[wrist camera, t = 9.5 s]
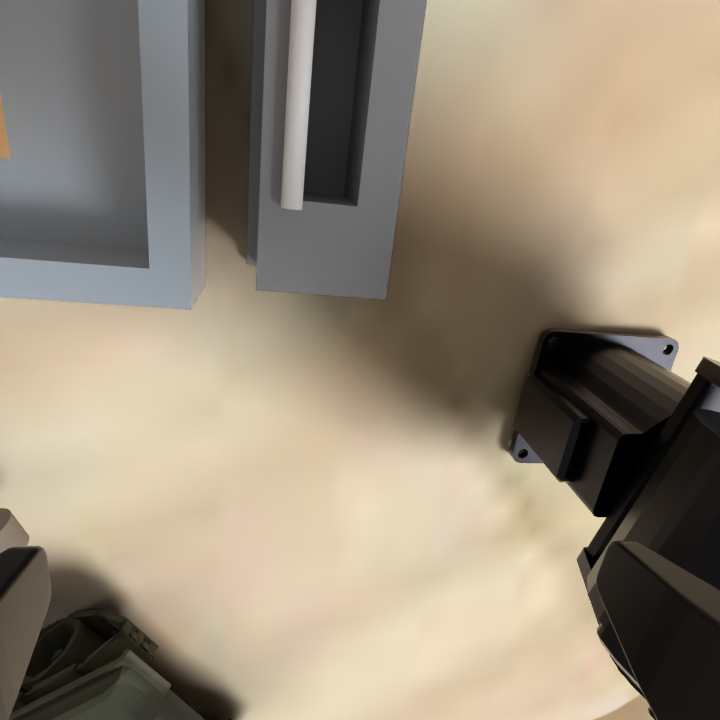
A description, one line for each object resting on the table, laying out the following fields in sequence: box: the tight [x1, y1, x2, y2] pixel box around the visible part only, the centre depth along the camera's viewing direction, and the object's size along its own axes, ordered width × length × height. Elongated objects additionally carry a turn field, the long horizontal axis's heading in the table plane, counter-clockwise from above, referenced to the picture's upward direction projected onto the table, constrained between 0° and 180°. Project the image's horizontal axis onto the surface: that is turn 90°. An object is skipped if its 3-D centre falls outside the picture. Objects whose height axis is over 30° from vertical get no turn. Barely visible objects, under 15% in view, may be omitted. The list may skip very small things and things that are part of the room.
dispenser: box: [246, 0, 427, 300], centre depth 15 cm, size 5×12×5 cm, turn 174°
